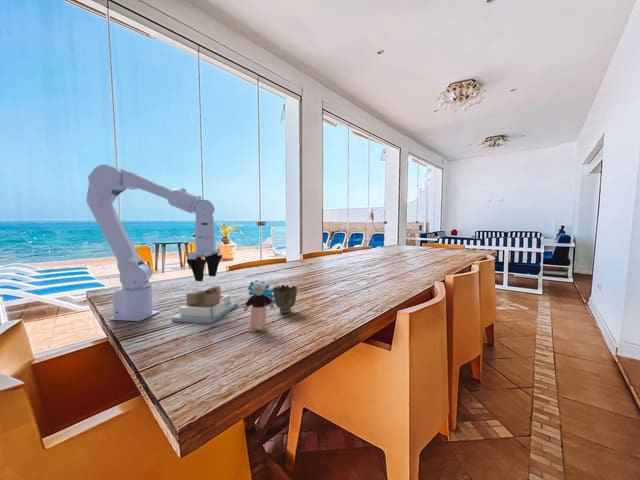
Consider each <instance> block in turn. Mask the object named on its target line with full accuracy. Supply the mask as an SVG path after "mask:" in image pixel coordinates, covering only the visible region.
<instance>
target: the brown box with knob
mask: <svg viewBox="0 0 640 480" xmlns="http://www.w3.org/2000/svg"><path fill="white" fill-rule="evenodd" d="M217 304H219V291H217V288H211V287H210V288H207V289H206V290H197V289H196V290H193V291H190V292H187V293H186V306H194V307H211V315H212V307H213V306H215V305H217Z"/></svg>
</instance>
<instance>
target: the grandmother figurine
mask: <svg viewBox="0 0 640 480" xmlns="http://www.w3.org/2000/svg"><path fill="white" fill-rule="evenodd" d="M265 286H266V285H265V283H264V284H263V283H261V281H259V282H255V281H254V284H253V287H252V289H253V291H254V292H253V291H252V292H253V293H254V294H255V295H250V298H248V300H247V301H246V302H245V305H244V307H243V312H244V313H245V312H247V311H248V309H249V307H250V306H252V307H251V311H250V320H249V321H250V322H249V323H250V325H249V326H250V328H249V329H248V333H249V334H251V333H253V334H254V333H256V332H257V330H258V332H266V331H267V327H266V319H267V318H266V317H267V315H266V314H267V313H266V312H267V310H266V305H265V303H266V304H267V305H268V306H269V308H270V309H274V308H275V305H274V302H273V301H272V300H273V299H272V300H271V299H270V298H269V297H270V296H269V297H267V296H265V295H262V294H263V292H264V291H265Z"/></svg>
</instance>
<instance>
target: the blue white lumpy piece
mask: <svg viewBox="0 0 640 480" xmlns="http://www.w3.org/2000/svg"><path fill="white" fill-rule="evenodd" d="M255 282H261V283H263V284H264V286H265V291H264V292H263V294H262V295H265V296H267V297H269V298H270V299H271V300H272V302H273V301H274V300H273V299H274V292H273V289H274V288H271V289H269V288H270V284H266V285H265V282H264V281H263V280H262V281H259V280H255V281H251V282H249V286H248V287H247V290H249V291H248V296H253V295H255V294H254V291H253V289H252V287H253V284H254V283H255ZM266 305H268V304H266V303H265V306H266Z"/></svg>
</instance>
